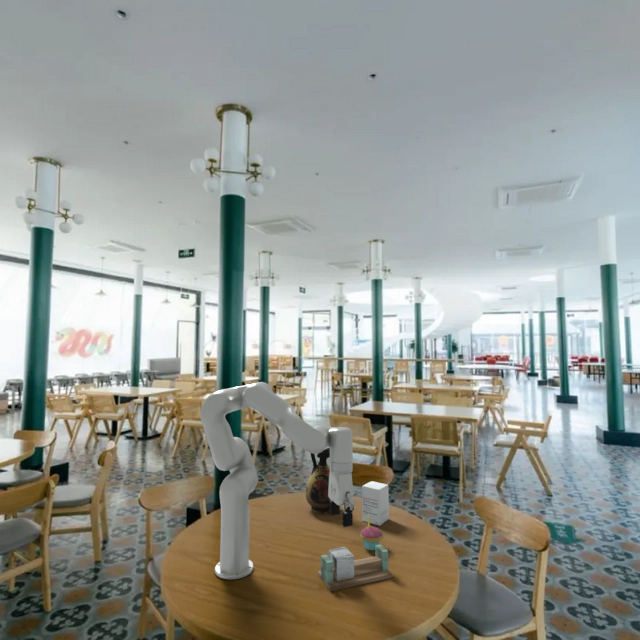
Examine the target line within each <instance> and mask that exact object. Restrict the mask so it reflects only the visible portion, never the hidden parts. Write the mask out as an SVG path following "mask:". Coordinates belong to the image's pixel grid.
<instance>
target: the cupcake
mask: <svg viewBox="0 0 640 640" xmlns="http://www.w3.org/2000/svg"><path fill="white" fill-rule="evenodd" d="M367 520H368V522H367V526H366V527H363V528H362V529H361V530H360V532H359V535H360V539H361V540H362V542H363V545H364V548H365V549H366V550H369V551H375V545H380V542H381V541H382V540H383V538H384V533H383V531H382V530H381V529H380V528H378V527H376V526H371V525H370V524H371V523H369V515H368V513H367Z"/></svg>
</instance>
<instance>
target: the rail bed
mask: <svg viewBox="0 0 640 640" xmlns="http://www.w3.org/2000/svg"><path fill="white" fill-rule="evenodd" d="M374 551H375V556H369V557H365V558H360V559H354V578H352V579H347V580H342V581H338V582H337V581H336V580H335V568H334V567H333V561H332V560H331V559H330V558H329V557H328V554H323V555H321V556H320V570H318V571H317V575H318V577H319V579H320V580H321V581H322V582H323V584H324V585H325V587H326V588H327V589H328V591H329V592H334V591H339V590H342V589H346V588H347V589H348V588H351V587H358V586H361V585H364V584H369V583H373V582H378V581H379V582H380V581H382V580H387V579H392V578H393V573H392V572H391V571H390V570H389V550H388V549H387V548H386V547H384V546H383V545H382V544H380V543H379V545H375V550H374Z"/></svg>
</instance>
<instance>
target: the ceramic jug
mask: <svg viewBox="0 0 640 640" xmlns="http://www.w3.org/2000/svg"><path fill="white" fill-rule="evenodd" d="M309 453H310V452H309ZM310 458H311V462H312V470H311V474H310V476H309V478H308V481H307V483H306V485H305V500H306V502H307V503H308V504H309V506H310V510H311V511H312V512H313V513H315V514H316V513H317V514H320V515H323V514H329V513H331V503H332V502H330V498H329V496H328V488H329V474H330V466H329V465H328V463H327V459H328V458H329V459H330V448H329V447H326V448H325V449H324V450H323V451H322V452H321V453H318V454H313V453H310ZM316 458H319V461H318V463H317V460H316Z"/></svg>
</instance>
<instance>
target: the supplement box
mask: <svg viewBox="0 0 640 640" xmlns="http://www.w3.org/2000/svg"><path fill="white" fill-rule="evenodd" d="M389 499H390V497H389V484H388V483H387V484H386V483H382V482H377V481H372V480H371V481H369V482H367V483H365V484H363V485H362V486H361V516H362V517H361V521H362V522H366V523H368V520H367V513H368V515H369V523H370V524H373V525H377V526H382V525H383V524H384V523H385V522H387V521H388V520H389V519H390V507H389V506H390V505H389V503H390V502H389Z"/></svg>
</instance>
